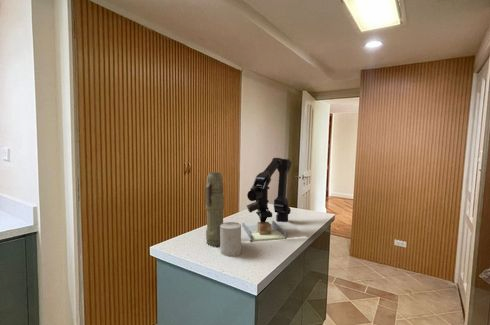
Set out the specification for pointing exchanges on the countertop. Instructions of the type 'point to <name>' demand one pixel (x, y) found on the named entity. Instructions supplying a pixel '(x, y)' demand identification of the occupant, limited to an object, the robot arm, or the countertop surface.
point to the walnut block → (264, 228)
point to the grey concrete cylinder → (230, 239)
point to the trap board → (274, 235)
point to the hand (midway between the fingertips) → (262, 225)
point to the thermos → (214, 207)
